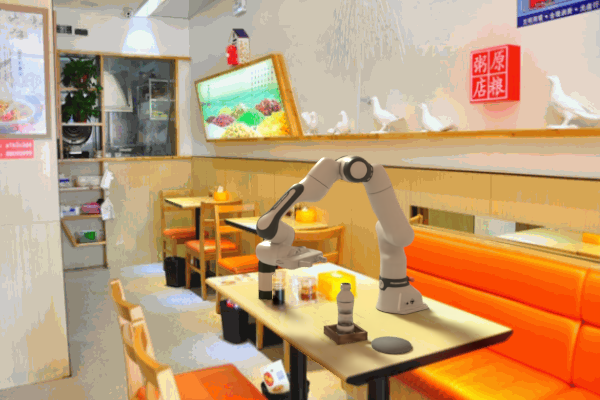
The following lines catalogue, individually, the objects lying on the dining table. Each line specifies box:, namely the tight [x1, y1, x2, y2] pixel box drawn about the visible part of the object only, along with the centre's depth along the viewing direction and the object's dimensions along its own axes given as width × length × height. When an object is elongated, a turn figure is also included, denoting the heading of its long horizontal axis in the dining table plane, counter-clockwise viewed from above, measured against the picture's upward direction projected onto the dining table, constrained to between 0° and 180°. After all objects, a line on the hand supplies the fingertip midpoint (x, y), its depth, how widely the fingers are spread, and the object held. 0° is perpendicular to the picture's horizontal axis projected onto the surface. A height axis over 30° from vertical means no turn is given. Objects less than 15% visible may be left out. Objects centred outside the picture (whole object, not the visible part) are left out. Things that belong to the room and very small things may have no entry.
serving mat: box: [370, 335, 413, 355], centre depth 189 cm, size 14×14×1 cm
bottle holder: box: [323, 321, 369, 346], centre depth 198 cm, size 12×12×3 cm
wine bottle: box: [257, 238, 276, 301], centre depth 245 cm, size 8×8×30 cm
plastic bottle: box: [336, 282, 355, 335], centre depth 197 cm, size 6×7×20 cm
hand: (318, 262), depth 202 cm, fingers open, 8 cm apart
